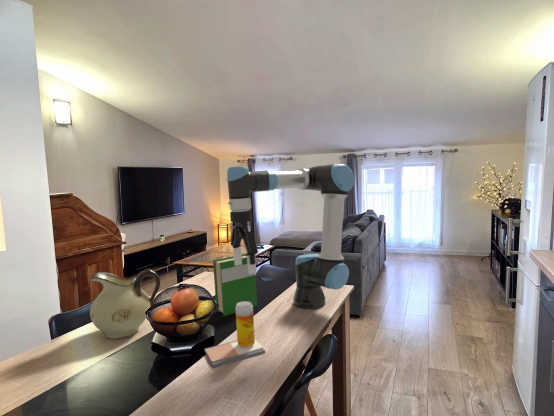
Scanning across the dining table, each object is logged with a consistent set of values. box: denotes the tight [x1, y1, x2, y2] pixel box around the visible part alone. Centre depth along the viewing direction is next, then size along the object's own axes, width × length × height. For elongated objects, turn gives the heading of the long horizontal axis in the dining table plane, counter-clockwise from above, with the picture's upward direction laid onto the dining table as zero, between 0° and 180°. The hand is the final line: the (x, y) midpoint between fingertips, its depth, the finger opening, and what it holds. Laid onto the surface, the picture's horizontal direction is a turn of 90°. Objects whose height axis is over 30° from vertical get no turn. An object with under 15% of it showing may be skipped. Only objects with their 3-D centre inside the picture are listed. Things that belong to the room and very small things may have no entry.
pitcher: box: [89, 268, 161, 339], centre depth 139 cm, size 22×24×25 cm
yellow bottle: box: [235, 301, 256, 348], centre depth 120 cm, size 6×6×15 cm
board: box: [204, 338, 266, 368], centre depth 119 cm, size 18×12×1 cm, turn 115°
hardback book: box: [212, 253, 258, 317], centre depth 158 cm, size 18×7×24 cm, turn 127°
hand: (244, 269), depth 123 cm, fingers open, 13 cm apart
